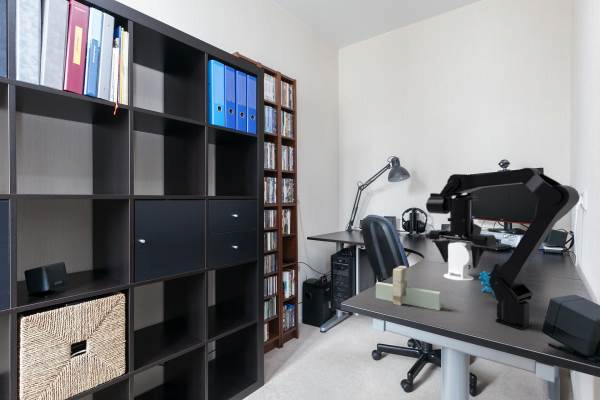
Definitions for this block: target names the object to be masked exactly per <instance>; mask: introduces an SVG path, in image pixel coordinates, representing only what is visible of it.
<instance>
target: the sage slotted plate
mask: <svg viewBox="0 0 600 400" xmlns="http://www.w3.org/2000/svg"><path fill="white" fill-rule="evenodd" d="M441 296H442V295H441V291H436V290H429V289H424V288H418V287H417V288H416V287H410V286H407V288H406V294H403V295H402V304H404V305H409V306H415V307H421V308H425V309H430V310H431V309H432V310H436V311H440V310H441V301H442V300H441V298H442V297H441ZM375 299H379V300H384V301H389V302H393V283H386V282H379V281H377V282H376V283H375Z"/></svg>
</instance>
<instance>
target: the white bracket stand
mask: <svg viewBox="0 0 600 400" xmlns="http://www.w3.org/2000/svg"><path fill="white" fill-rule="evenodd" d="M473 245H475V244H474V243H465V242H459V241H458V242H454V240H450V242H449V245H448V262H447V263H448V271H447V273H444V274H443V277H444V278H446V279H449V280H452V281H458V282H459V281H461V282H471V281H473V280H474V277H473V276H471V275H469V270H471V264H472V249H471V246H473Z"/></svg>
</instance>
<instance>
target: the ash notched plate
mask: <svg viewBox="0 0 600 400" xmlns="http://www.w3.org/2000/svg"><path fill="white" fill-rule="evenodd" d="M392 284H393V301H392V305H396V306H400V307H401V306H402V305H403V303H402V295H403V294H406V288H407V287H408V266H405V265H399V266H398V267H395V268H393V270H392Z"/></svg>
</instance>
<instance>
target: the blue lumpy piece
mask: <svg viewBox="0 0 600 400" xmlns="http://www.w3.org/2000/svg"><path fill="white" fill-rule="evenodd" d="M491 272H492V271H491ZM491 272H489V273H488V271H486V270H483V271H481V272H480V273H479V275H480V276H479V277H478V279H479V280H481V285H482V286H485V287H483V288H482V289H481V292H482V293H485V292H486V291H487V292H491V291H492V292H491V294H492V295H493V296H494V297H495V294H494V291H493V290H492V289H491V287H490V284H489V278H490V277H491V276H488V275H489V274H490V273H491Z"/></svg>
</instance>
